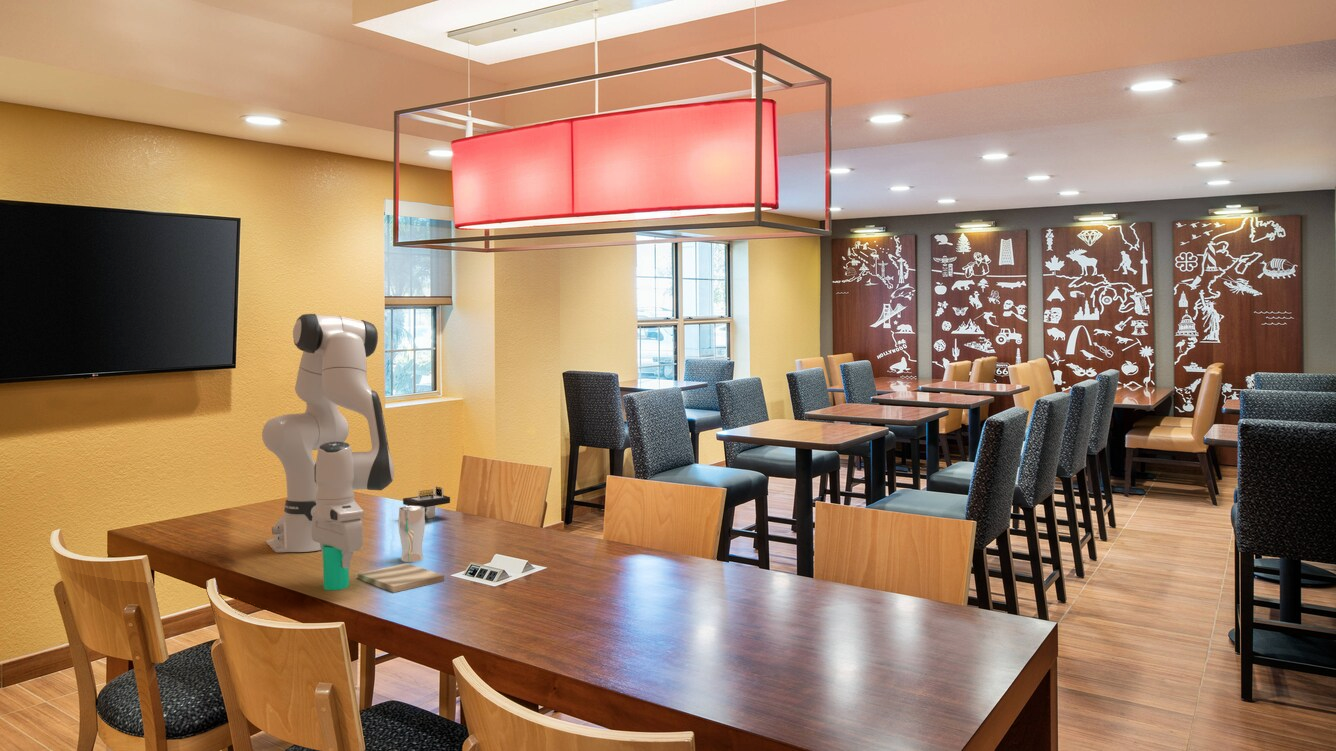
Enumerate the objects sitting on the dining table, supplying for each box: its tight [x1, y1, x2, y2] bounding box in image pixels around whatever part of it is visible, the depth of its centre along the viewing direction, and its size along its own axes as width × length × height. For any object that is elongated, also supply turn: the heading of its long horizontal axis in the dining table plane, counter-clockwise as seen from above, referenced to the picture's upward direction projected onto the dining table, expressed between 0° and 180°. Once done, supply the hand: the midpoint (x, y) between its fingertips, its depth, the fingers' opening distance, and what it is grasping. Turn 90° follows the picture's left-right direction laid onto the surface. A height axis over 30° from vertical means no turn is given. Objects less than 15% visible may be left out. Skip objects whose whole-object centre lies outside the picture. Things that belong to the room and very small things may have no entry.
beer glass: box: [397, 505, 426, 563], centre depth 240 cm, size 7×7×15 cm
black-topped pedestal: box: [402, 485, 451, 523], centre depth 285 cm, size 28×26×13 cm
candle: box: [322, 545, 350, 591], centre depth 215 cm, size 6×6×12 cm
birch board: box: [357, 562, 445, 594], centre depth 221 cm, size 18×14×2 cm
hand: (336, 564), depth 215 cm, fingers open, 8 cm apart
